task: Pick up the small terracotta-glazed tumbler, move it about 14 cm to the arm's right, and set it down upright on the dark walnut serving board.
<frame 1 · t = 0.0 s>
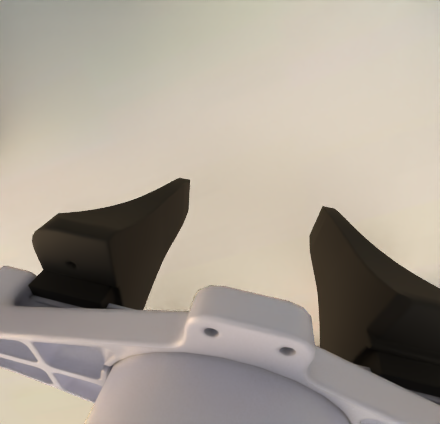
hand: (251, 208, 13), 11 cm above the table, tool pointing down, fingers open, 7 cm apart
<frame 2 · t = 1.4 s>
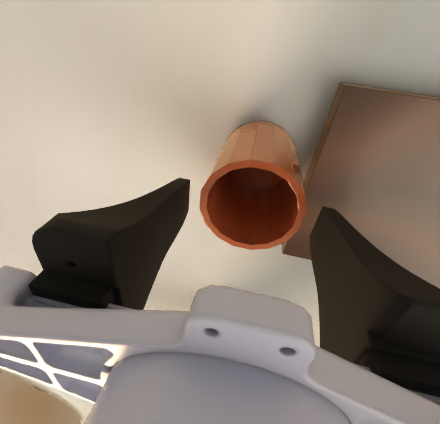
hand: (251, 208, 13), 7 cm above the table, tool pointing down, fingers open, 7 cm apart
serving board: (435, 203, 19), on the table
tumbler: (258, 158, 19), on the table
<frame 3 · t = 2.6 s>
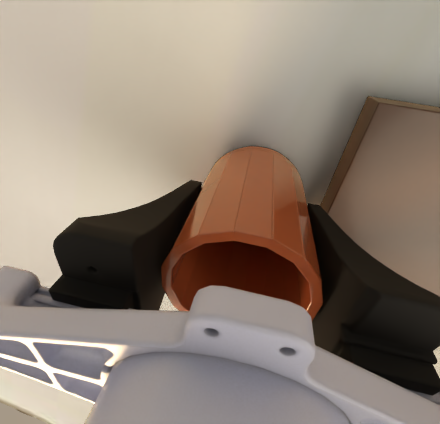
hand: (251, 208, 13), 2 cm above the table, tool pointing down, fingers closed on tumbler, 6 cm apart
tumbler: (252, 191, 15), on the table, touching gripper
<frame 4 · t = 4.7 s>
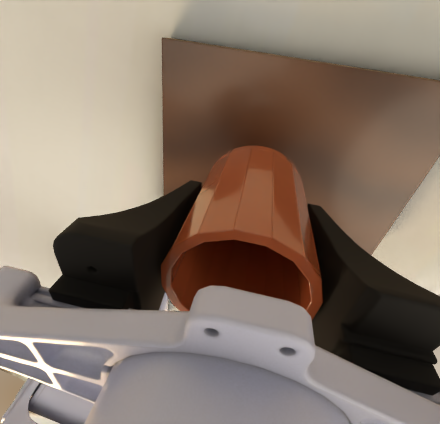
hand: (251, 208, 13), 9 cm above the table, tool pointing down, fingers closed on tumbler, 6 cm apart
serving board: (283, 157, 20), on the table
tumbler: (252, 191, 15), point 7 cm above the table, touching gripper
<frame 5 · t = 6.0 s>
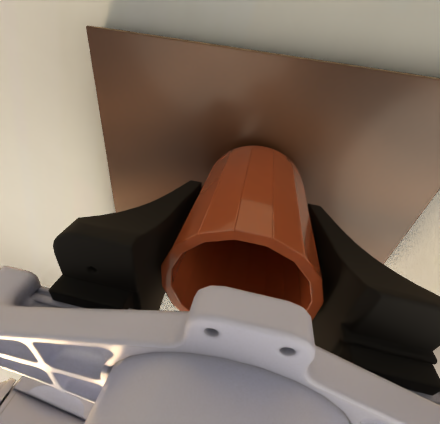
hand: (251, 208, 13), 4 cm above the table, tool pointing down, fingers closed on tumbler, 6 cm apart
serving board: (255, 175, 17), on the table
tumbler: (252, 191, 15), point 2 cm above the table, touching gripper
when the fingers open (3 cm above the table, at t = 6.8 s): tumbler stays where it is, resting on serving board.
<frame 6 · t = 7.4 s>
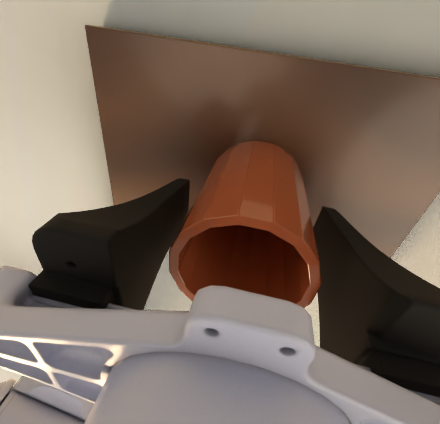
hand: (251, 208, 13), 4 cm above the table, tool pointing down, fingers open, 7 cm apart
serving board: (256, 175, 17), on the table
tumbler: (254, 185, 15), point 1 cm above the table, touching serving board
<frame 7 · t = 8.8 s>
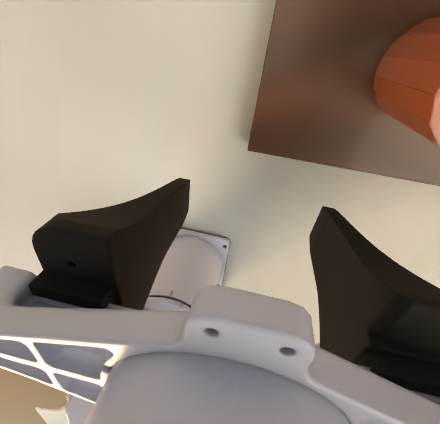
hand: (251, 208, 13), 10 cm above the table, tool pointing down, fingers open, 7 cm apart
serving board: (413, 71, 17), on the table
tumbler: (424, 72, 15), point 1 cm above the table, touching serving board
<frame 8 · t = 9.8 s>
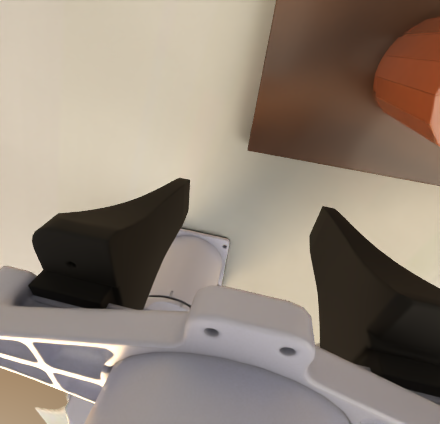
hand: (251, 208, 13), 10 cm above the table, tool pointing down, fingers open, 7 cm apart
serving board: (413, 71, 17), on the table
tumbler: (424, 72, 15), point 1 cm above the table, touching serving board
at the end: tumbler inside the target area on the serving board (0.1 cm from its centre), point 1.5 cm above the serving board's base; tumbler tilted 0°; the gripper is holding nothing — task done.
